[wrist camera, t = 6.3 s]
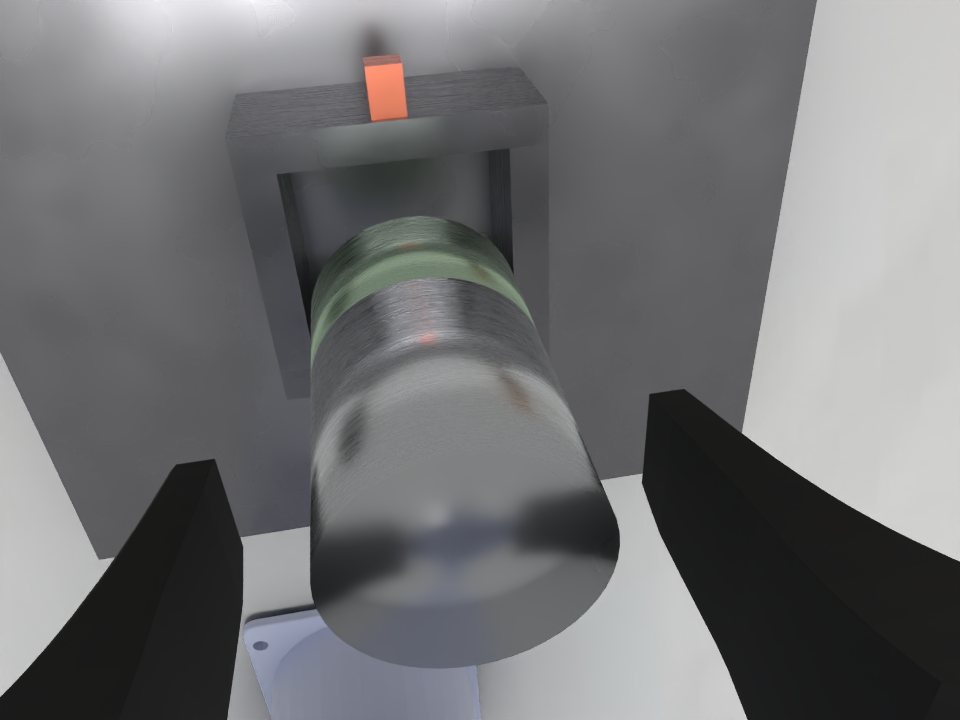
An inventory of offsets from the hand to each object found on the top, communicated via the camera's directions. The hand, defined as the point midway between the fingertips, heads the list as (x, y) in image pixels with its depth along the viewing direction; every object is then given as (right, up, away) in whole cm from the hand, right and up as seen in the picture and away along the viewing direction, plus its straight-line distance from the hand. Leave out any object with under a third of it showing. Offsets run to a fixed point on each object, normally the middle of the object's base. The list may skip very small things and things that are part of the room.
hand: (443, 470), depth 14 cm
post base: (-2, +6, +7) cm, 9 cm away
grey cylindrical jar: (-1, +3, +2) cm, 4 cm away
